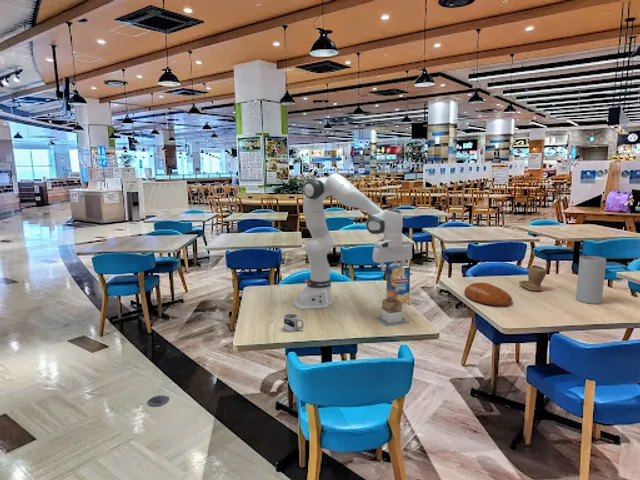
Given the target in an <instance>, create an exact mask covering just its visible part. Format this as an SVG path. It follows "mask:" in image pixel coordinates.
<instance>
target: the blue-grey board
mask: <svg viewBox="0 0 640 480" xmlns="http://www.w3.org/2000/svg"><path fill="white" fill-rule="evenodd" d="M374 319H376V320H377V321H378V322H380V323H381V324H383V325H384V326H385V327H390V326H397V325H398V326H399V325H403V324H411V322H410V321H408V320H407V319H405V318H403V317H402V321H400V322H394V323H388V322H386V321H385V320H384V319H382V315H380V316H375V317H374Z"/></svg>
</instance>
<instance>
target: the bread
mask: <svg viewBox="0 0 640 480" xmlns="http://www.w3.org/2000/svg"><path fill="white" fill-rule="evenodd" d="M463 293H464V295H465V296H466V297H467V298H468V299H470V300H472V301H473V302H477V303H480V304H483V305H484V304H485V305H490V306H501V307H502V306H503V307H505V306H509V305H510V304H512V302H513V298H512V296H511V295H510V294H509V293H508V292H507V291H505V290H504V289H502V288H499V287H498V286H495V285H493V284H491V283H488V282H475V283H472V284H469V285H468V286H467V287H465V288H464V291H463Z"/></svg>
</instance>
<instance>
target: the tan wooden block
mask: <svg viewBox="0 0 640 480" xmlns="http://www.w3.org/2000/svg"><path fill="white" fill-rule="evenodd" d="M381 305H382V308H381V310H382V309H383V310H385V311H386V312H388V313H396V312H402V309H403V307H402V306H403V304H402V302H401V301H399V300H398V299H397V302H388V301H387V299H386V298H383V299H382V304H381ZM402 313H403V312H402Z"/></svg>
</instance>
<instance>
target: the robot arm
mask: <svg viewBox="0 0 640 480" xmlns="http://www.w3.org/2000/svg"><path fill="white" fill-rule="evenodd" d="M302 191H303V194H304V196H303V203H302V204H303V213H304V219H305V225H306V228H307V230H308V231H309V233H310V236H311V239H308V241H307V242H306V244H305V246H304V252H305V254H306V255H307V258H308V263H309V269H310V270H309V272H310V279H305V280H304V282H305V284H307V285H306V287H304V288H303V289H302V290H300V291H299V292H298V294H297V297H296V298H297V300H294V301H293V306H294V307H295V308H297V309H298V310H299V309H300V310H309V309H310V310H311V309H326V308H329V306H332V305H333V303H334V301H333V298H332V292H331V286H332V281H331V272H330V271H331V270H330V269H331V268H330V264H329V261H328V256H327V255H328V254H327V253H329V252H331V250H332V249H333V247H334V244H335V243H334V239H333V237H332V236H331V234H330V230H329V228H328V225H327V221H326V220H327V219H326V214H325V210H324V200H325V199H326V200H327V199H330V198H331V197H334V198H335V200H337V201H338V202H339V203H340V204H341V205H343V206H345V207H349V208H358V209H361V210H363V211H365V212H366V213H367V214H369V216H368V218H367V219H366V222H365V227H366V230H367V232H369V233H370V234H372V235H379V234H383V238H381V239H378V240H376V241H374V245H373V247H374V248H373V250H372V261H373V262H374V263H377V264H378V263H379V266H380V267H381V272H387V266H386V267H385V266H384V265H385V263H390V262H391V263H392V262H400V264H398V265H399V269H403V266H404V265H406V261H411V260H413V250H412V247H413V245H412V242H410V241H408V240H407V241H404V240H403V233H402V231H403V229H404V228H403V227H404V226H403V224H404V223H403V222H404V221H403V215H402V211H401V210H399V209H397V208H392V207H391V208H390V207H389V208H386V209H383V208H382V207H381V206H379V205H378V204H377V203H376V202H375V201H373V200H372V199H371V198H369V197H368V196H367V195H365V194H364V193H363V192H361V190H359V189H358V188H357V187H356V186H354V185H353V184H352V182H350V181H349V180H348V179H347V178H345V177H344V176H343V175H341V174H339V173H336V172H335V173H332V174H331V173H330V175H329V176H322V177H321V176H320V177H317V178H312V179H309V180H307V181H305V183H304V185H303V190H302Z"/></svg>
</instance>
